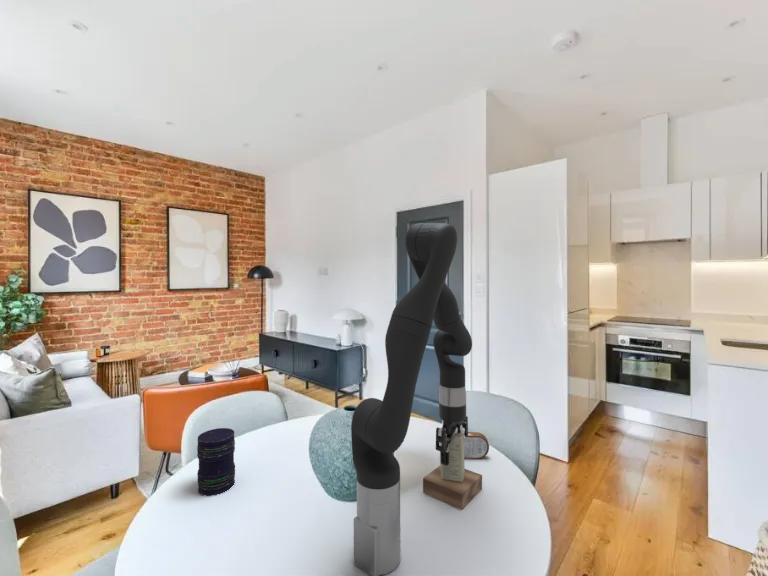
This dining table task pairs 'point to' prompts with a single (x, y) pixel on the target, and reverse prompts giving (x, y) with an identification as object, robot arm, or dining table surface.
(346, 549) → the dining table surface
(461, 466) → the skincare box
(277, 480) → the dining table surface
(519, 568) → the dining table surface
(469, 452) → the tin
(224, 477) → the dark blue cylinder
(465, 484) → the walnut plinth
